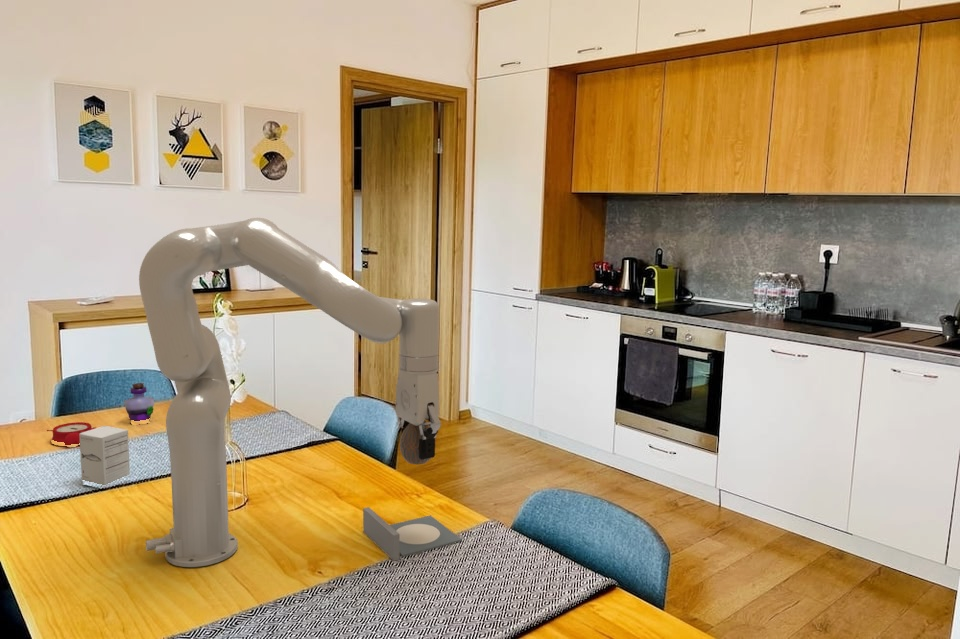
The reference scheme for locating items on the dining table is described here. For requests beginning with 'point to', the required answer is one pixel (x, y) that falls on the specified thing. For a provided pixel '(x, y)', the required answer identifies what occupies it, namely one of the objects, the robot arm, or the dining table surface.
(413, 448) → the vase
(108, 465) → the supplement box
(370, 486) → the dining table surface
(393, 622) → the dining table surface
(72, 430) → the alarm clock
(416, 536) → the mat
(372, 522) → the low wall
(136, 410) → the potion bottle
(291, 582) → the dining table surface
